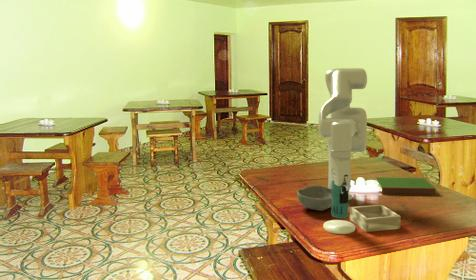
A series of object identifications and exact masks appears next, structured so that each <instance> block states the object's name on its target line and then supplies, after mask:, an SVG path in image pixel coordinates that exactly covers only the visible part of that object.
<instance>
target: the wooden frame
mask: <svg viewBox="0 0 476 280" xmlns="http://www.w3.org/2000/svg"><path fill="white" fill-rule="evenodd" d="M401 217H402V216H401V215H400V214H398V213H396V212H395V211H393V210H391V209H390V208H388V207H386V206H385V205H383V204H373V205H372V204H371V205H370V204H369V205H360V206H350V207H349V220H350V222H353V224H354V225H355V226H357V227H359V228H360V229H362V230H363V231H364V232H365V233H370V232H371V233H372V232H380V231H381V232H382V231H389V230H399V229H401Z"/></svg>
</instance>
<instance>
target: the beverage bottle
mask: <svg viewBox="0 0 476 280" xmlns="http://www.w3.org/2000/svg"><path fill="white" fill-rule="evenodd" d="M334 183H335V181H334V180H332V189H331V192H332V193H331V194H332V199H331V200H332V203H331V207H330V211H331V212H330V215H331V216H332V217H333V218H336V219H345V218H347V217H348V215H349V202H348V203H344V204H340V193H341V190H340V186H337V185H335V184H334ZM342 185H346V184H345V183H343V184H342ZM344 188H345V187H343V189H344Z"/></svg>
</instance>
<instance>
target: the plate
mask: <svg viewBox="0 0 476 280" xmlns="http://www.w3.org/2000/svg"><path fill="white" fill-rule="evenodd" d="M322 227H323V229H324V230H325V231H326V232H328V233H331V234H335V235H349V234H352V233H354V232H355V231H356V224H355V223H354V222H353V223H352V221H347V220H343V219H331V220H327V221H325V222H324V223H323V226H322Z"/></svg>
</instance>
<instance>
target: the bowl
mask: <svg viewBox="0 0 476 280" xmlns="http://www.w3.org/2000/svg"><path fill="white" fill-rule="evenodd" d="M331 193H332V192H331V189H330V188H328V186H322V185H315V184H314V185H310V186H306V187H302V188H299V189H298V190H297V193H296V196H297V200H298V202H299V203H300V204H301V206H302V207H304V208H306V209H308V210H309V209H310V210H314V211H319V212H323V211H326V210H329V208H330V209H331V203H332V200H331V199H332V194H331Z"/></svg>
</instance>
